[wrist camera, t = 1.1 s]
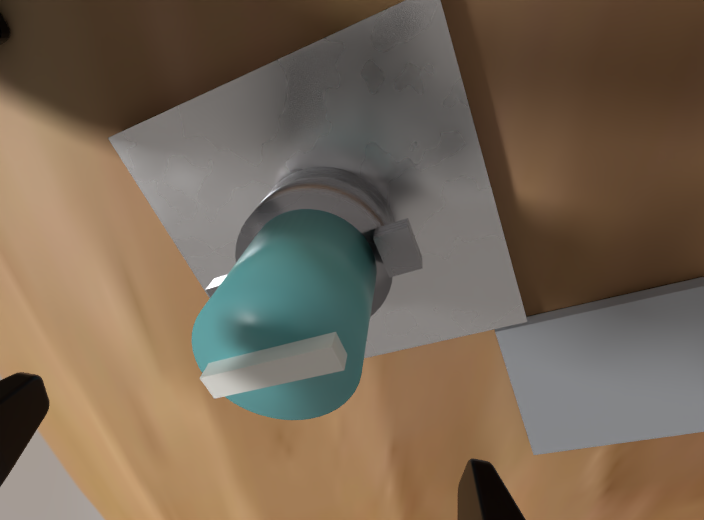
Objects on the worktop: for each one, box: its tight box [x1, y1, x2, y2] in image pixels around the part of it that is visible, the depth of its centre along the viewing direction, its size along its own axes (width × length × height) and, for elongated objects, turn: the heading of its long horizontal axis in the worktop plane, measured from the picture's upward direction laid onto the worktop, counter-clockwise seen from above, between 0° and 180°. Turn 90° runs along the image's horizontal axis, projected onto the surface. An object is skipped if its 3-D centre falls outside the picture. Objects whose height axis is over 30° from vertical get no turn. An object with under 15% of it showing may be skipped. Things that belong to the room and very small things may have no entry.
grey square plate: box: [108, 0, 527, 358], centre depth 18 cm, size 14×14×5 cm
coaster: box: [495, 277, 704, 455], centre depth 22 cm, size 9×9×1 cm
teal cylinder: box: [192, 209, 377, 420], centre depth 14 cm, size 5×5×6 cm
